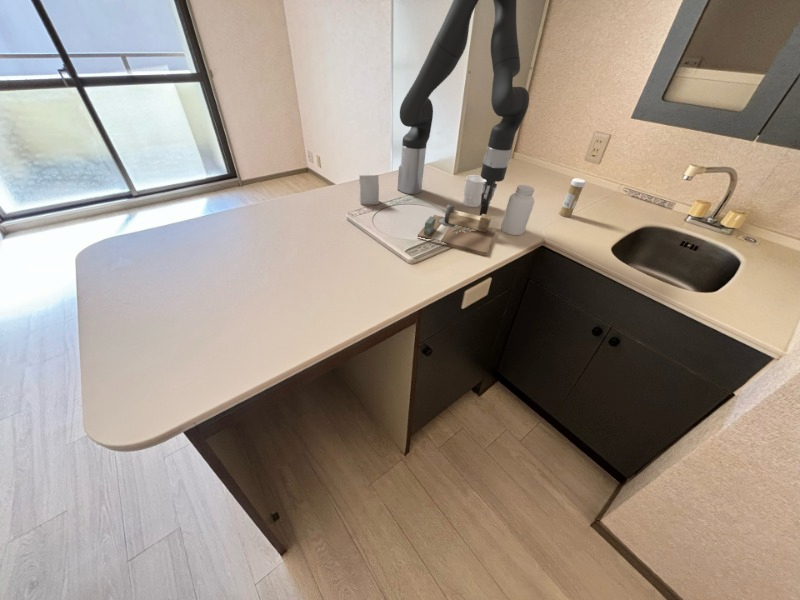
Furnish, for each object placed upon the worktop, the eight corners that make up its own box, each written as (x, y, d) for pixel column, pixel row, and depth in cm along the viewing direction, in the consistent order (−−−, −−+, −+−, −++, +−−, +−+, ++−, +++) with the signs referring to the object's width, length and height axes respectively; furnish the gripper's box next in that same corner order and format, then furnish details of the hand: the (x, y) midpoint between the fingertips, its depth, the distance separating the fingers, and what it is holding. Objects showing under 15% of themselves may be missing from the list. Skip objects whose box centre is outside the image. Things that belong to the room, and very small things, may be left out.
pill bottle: (525, 228, 114) (540, 186, 104) (522, 238, 108) (537, 194, 99) (502, 223, 116) (515, 181, 107) (498, 232, 110) (511, 188, 101)
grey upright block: (378, 203, 122) (379, 177, 115) (360, 204, 120) (360, 177, 114) (376, 200, 124) (377, 173, 118) (359, 200, 123) (358, 173, 117)
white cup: (482, 208, 125) (489, 183, 119) (462, 207, 125) (467, 181, 118) (479, 200, 131) (485, 175, 125) (460, 199, 131) (465, 174, 124)
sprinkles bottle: (573, 217, 125) (588, 182, 116) (562, 217, 124) (577, 182, 115) (567, 212, 128) (581, 177, 120) (556, 212, 127) (570, 177, 119)
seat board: (417, 238, 103) (419, 223, 100) (433, 217, 116) (435, 203, 112) (485, 256, 97) (489, 240, 94) (495, 232, 110) (499, 218, 107)
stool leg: (443, 221, 110) (445, 207, 106) (445, 218, 112) (448, 204, 108) (486, 232, 106) (490, 217, 102) (488, 228, 108) (492, 214, 105)
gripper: (487, 155, 107) (476, 205, 118) (479, 166, 97) (467, 219, 108) (510, 159, 105) (496, 210, 116) (504, 170, 95) (490, 225, 106)
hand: (482, 214), depth 112 cm, fingers closed
